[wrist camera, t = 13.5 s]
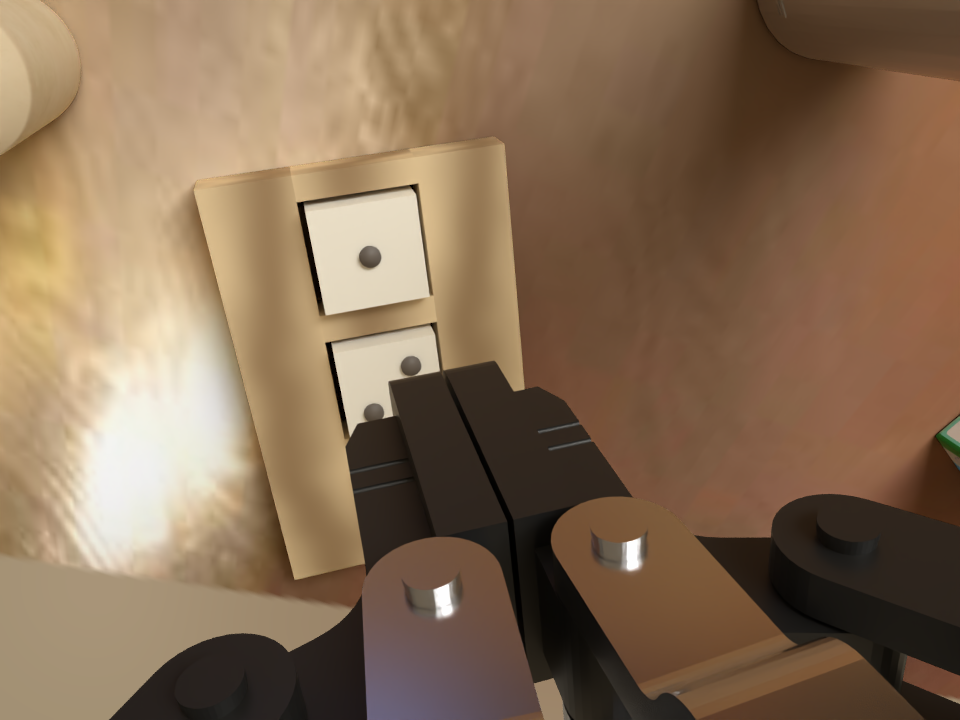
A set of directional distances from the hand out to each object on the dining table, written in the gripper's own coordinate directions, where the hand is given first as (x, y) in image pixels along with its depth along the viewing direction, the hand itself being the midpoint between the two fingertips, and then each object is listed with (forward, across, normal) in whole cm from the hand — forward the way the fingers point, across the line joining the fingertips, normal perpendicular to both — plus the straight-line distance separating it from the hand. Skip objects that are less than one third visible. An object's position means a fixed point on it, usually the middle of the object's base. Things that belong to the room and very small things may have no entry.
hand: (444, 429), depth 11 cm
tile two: (+29, -1, +13) cm, 31 cm away
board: (+29, -1, +13) cm, 32 cm away
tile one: (+29, -1, +6) cm, 29 cm away
